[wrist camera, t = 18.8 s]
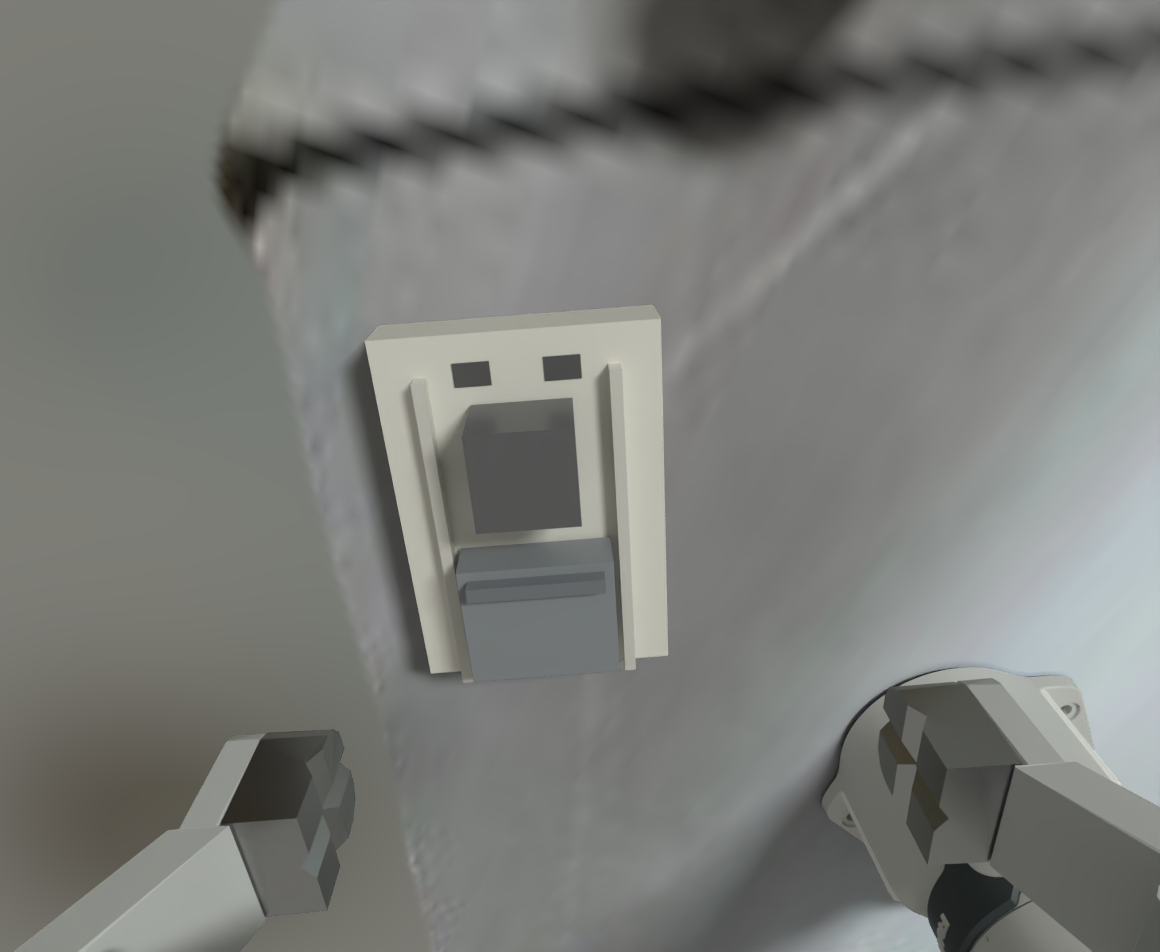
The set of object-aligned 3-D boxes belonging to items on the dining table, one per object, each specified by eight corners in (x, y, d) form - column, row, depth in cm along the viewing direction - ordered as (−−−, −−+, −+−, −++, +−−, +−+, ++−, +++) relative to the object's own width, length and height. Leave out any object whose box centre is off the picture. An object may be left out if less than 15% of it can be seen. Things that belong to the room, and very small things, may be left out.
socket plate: (661, 624, 46) (670, 666, 42) (438, 641, 46) (428, 685, 42) (653, 304, 37) (663, 323, 34) (378, 325, 37) (359, 347, 34)
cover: (616, 642, 42) (621, 680, 39) (477, 652, 42) (472, 692, 39) (610, 536, 39) (614, 570, 36) (461, 548, 39) (453, 582, 36)
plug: (577, 463, 41) (581, 526, 35) (488, 469, 41) (476, 534, 35) (571, 377, 39) (574, 427, 32) (476, 384, 39) (461, 436, 32)
